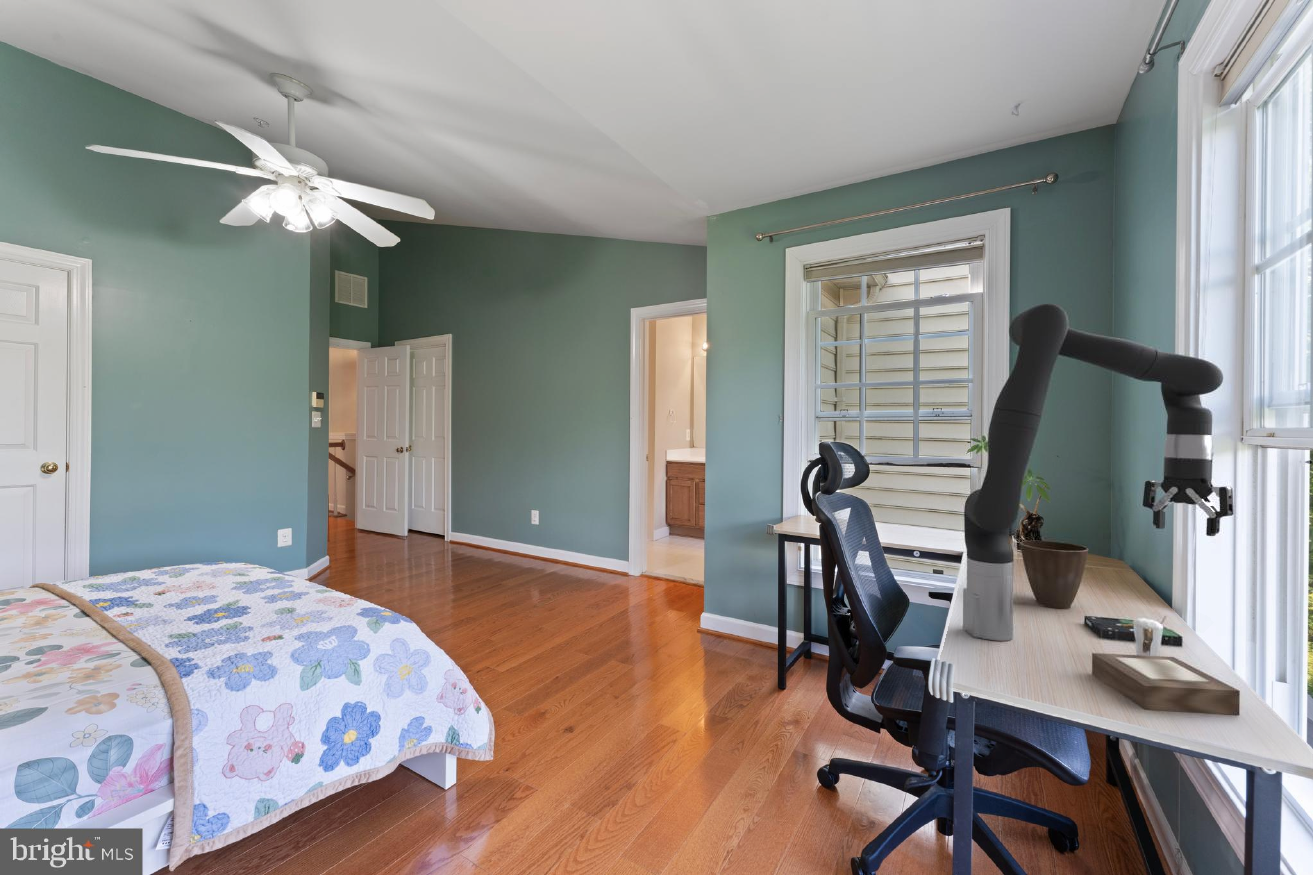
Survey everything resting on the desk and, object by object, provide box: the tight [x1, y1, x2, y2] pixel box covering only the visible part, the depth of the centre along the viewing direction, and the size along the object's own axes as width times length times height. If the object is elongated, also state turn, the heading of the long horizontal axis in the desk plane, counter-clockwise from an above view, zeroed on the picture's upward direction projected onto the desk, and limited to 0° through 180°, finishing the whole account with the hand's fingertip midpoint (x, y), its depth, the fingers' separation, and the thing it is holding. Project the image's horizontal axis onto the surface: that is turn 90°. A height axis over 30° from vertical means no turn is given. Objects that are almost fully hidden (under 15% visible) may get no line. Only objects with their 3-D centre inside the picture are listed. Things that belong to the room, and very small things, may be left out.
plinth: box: [1091, 652, 1241, 716], centre depth 100 cm, size 14×14×4 cm
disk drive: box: [1083, 615, 1184, 648], centre depth 129 cm, size 10×3×15 cm
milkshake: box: [1133, 615, 1167, 656], centre depth 112 cm, size 4×5×10 cm
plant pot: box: [1020, 540, 1089, 610], centre depth 151 cm, size 15×15×16 cm
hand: (1184, 532), depth 120 cm, fingers open, 8 cm apart
